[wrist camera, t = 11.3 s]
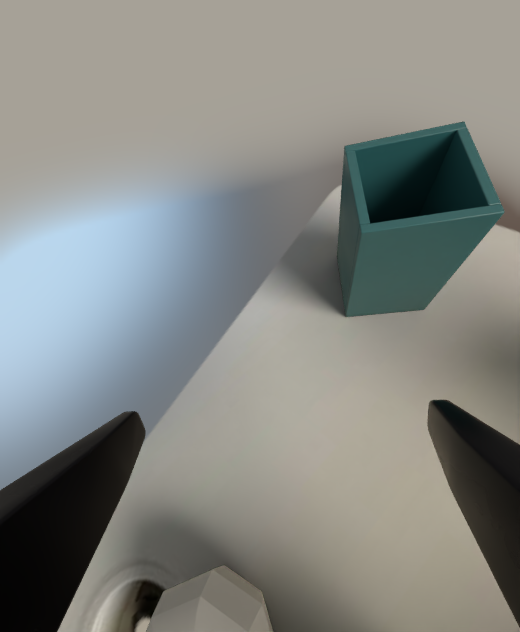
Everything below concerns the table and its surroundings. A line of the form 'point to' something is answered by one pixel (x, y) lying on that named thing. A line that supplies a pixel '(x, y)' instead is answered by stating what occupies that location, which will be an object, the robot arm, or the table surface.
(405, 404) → the table surface
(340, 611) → the table surface
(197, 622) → the white faceted rounded piece
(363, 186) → the bin
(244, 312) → the table surface
